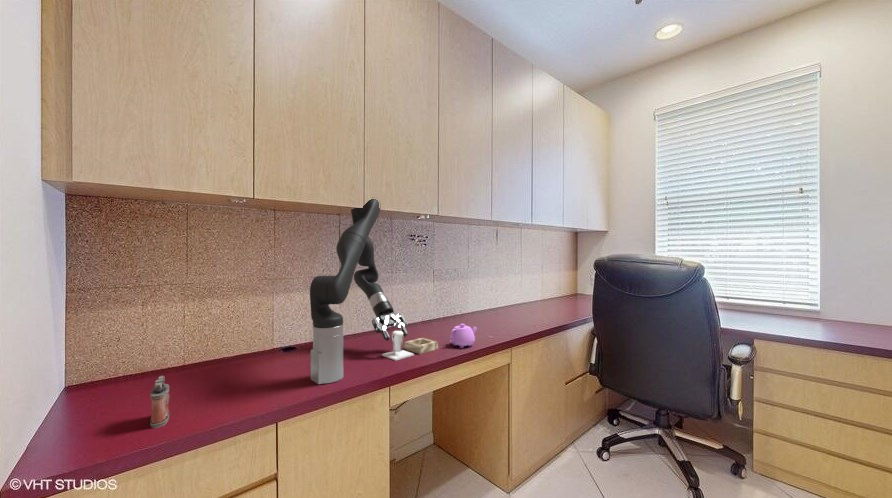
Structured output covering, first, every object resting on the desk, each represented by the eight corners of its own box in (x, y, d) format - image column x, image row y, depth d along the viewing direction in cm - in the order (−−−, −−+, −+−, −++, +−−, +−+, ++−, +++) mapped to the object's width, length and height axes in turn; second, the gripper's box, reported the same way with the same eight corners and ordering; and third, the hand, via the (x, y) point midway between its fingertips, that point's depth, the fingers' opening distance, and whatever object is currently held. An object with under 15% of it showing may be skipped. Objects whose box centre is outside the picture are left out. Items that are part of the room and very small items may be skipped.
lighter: (167, 425, 78) (167, 382, 78) (148, 429, 76) (148, 386, 76) (170, 411, 85) (170, 373, 85) (153, 415, 83) (153, 375, 83)
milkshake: (406, 352, 131) (406, 327, 132) (399, 356, 127) (399, 330, 127) (397, 351, 133) (396, 326, 134) (389, 354, 128) (389, 329, 129)
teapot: (443, 345, 143) (443, 324, 144) (469, 339, 152) (469, 319, 152) (458, 351, 135) (457, 328, 135) (484, 344, 144) (484, 323, 144)
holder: (419, 354, 131) (419, 346, 131) (404, 349, 138) (404, 342, 138) (438, 348, 138) (437, 341, 138) (422, 344, 145) (422, 337, 145)
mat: (395, 360, 123) (395, 359, 123) (382, 355, 130) (381, 354, 130) (414, 355, 130) (414, 353, 130) (400, 350, 136) (400, 349, 136)
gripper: (369, 301, 131) (386, 335, 123) (398, 298, 141) (415, 329, 133) (362, 313, 135) (378, 346, 127) (391, 308, 145) (407, 339, 137)
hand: (397, 337), depth 130 cm, fingers open, 8 cm apart
